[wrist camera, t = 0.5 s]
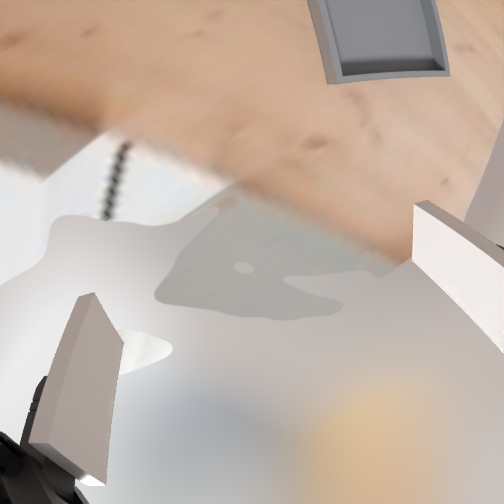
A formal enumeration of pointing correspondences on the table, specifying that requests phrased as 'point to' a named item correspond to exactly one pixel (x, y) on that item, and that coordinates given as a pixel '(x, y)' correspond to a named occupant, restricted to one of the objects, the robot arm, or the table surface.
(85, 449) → the robot arm
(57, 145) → the table surface
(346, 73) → the tray
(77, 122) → the table surface
